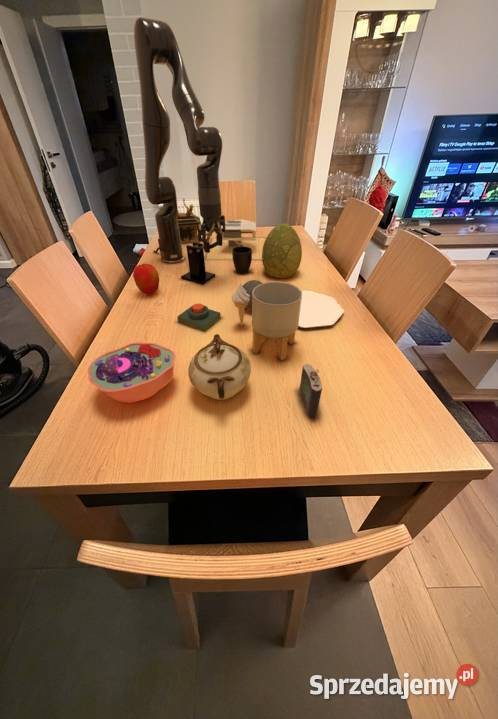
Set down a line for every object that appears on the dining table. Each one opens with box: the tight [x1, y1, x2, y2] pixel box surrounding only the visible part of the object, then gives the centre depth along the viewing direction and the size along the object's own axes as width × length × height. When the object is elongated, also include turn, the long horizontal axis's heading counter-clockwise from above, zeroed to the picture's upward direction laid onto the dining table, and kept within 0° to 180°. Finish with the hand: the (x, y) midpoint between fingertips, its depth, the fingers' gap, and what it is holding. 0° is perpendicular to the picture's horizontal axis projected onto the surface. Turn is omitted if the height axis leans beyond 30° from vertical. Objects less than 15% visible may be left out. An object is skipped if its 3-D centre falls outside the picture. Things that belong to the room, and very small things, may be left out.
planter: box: [251, 281, 302, 361], centre depth 83 cm, size 13×13×18 cm
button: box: [191, 303, 205, 313], centre depth 97 cm, size 4×4×2 cm
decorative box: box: [158, 198, 202, 245], centre depth 153 cm, size 20×10×20 cm, turn 103°
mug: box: [232, 245, 253, 275], centre depth 128 cm, size 8×12×10 cm
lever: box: [194, 241, 220, 252], centre depth 115 cm, size 12×5×2 cm, turn 60°
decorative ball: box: [242, 279, 263, 310], centre depth 103 cm, size 10×10×10 cm
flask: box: [298, 363, 323, 419], centre depth 68 cm, size 9×3×11 cm, turn 8°
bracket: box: [180, 242, 216, 286], centre depth 121 cm, size 11×9×14 cm
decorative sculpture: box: [261, 223, 303, 279], centre depth 122 cm, size 16×16×20 cm
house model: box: [205, 218, 267, 260], centre depth 147 cm, size 29×30×12 cm
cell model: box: [87, 341, 176, 404], centre depth 72 cm, size 17×20×11 cm
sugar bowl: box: [187, 333, 252, 401], centre depth 71 cm, size 20×15×15 cm
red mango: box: [132, 262, 160, 296], centre depth 111 cm, size 9×9×12 cm
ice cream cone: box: [231, 283, 250, 327], centre depth 93 cm, size 6×6×15 cm
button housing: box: [177, 304, 222, 332], centre depth 99 cm, size 11×9×4 cm
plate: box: [298, 290, 345, 329], centre depth 104 cm, size 24×24×2 cm
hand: (213, 248), depth 113 cm, fingers open, 7 cm apart
